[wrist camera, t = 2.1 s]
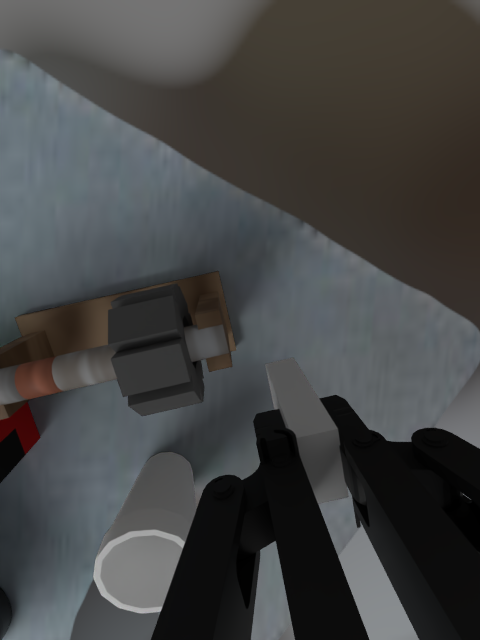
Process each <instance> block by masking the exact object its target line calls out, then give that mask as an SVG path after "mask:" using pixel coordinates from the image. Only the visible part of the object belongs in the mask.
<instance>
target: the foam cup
mask: <svg viewBox="0 0 480 640" xmlns="http://www.w3.org/2000/svg"><path fill="white" fill-rule="evenodd" d="M196 510H197V509H196V498H195V488H194V477H193V471H192V468H191V465H190V463H189V462H188V461H187V460H186V459H185V458H184V457H183V456H182V455H179V454H176V453H173V452H162V453H158V454H156V455H154V456H152V457H150V458H149V460H148V461H147V462H146V464H145V465H144V467H143V468H142V470H141V472H140V474H139V475H138V477H137V479H136V481H135V483H134V485H133V487H132V489H131V491H130V492H129V494H128V496H127V498H126V500H125V502H124V504H123V506H122V507H121V509H120V511H119V513H118V515H117V517H116V519H115V521H114V523H113V524H112V526H111V528H110V529H109V530H108V531H107V533H106V534H105V535H104V538H103V540H102V543H101V546H100V548H99V551H98V554H97V556H96V560H95V568H94V575H93V578H94V581H95V583H96V585H97V587H98V589H99V591H100V593H101V595H102V596H103V597H105V598H106V599H107V600H109V601H110V602H111V603H113V604H114V605H115V606H117V607H118V608H121V609H125V610H129V611H133V612H137V613H151V612H161V610H162V607H163V604H164V601H165V598H166V595H167V592H168V590H169V587H170V584H171V581H172V578H173V575H174V573H175V570H176V567H177V564H178V561H179V558H180V555H181V553H182V550H183V547H184V544H185V541H186V538H187V536H188V533H189V530H190V527H191V524H192V521H193V518H194V516H195V513H196Z"/></svg>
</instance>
